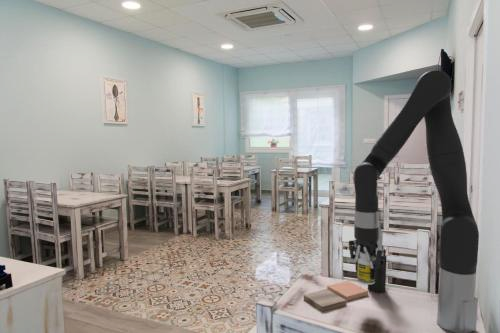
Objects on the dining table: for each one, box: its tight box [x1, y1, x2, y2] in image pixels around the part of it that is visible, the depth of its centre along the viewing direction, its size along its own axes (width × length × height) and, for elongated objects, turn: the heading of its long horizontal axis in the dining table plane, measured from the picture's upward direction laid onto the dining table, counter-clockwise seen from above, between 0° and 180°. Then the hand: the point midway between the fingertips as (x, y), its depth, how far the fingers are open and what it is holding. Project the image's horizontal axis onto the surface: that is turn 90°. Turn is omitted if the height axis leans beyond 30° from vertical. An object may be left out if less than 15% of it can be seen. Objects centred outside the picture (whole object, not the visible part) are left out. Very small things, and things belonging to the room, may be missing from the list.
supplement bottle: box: [357, 252, 375, 286], centre depth 116 cm, size 5×5×10 cm
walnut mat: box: [303, 288, 347, 312], centre depth 122 cm, size 10×10×2 cm
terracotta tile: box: [326, 280, 369, 302], centre depth 129 cm, size 10×10×2 cm
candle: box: [367, 222, 387, 295], centre depth 130 cm, size 5×5×25 cm
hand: (366, 275), depth 117 cm, fingers closed on supplement bottle, 5 cm apart
